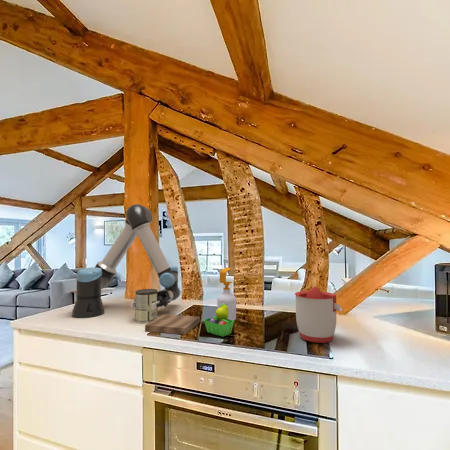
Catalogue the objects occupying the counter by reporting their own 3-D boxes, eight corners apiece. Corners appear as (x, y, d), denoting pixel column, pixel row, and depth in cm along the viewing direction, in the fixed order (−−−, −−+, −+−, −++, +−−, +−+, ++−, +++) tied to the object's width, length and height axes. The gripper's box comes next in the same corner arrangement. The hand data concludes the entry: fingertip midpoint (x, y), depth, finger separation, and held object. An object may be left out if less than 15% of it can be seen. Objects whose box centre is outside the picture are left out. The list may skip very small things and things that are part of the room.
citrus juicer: (339, 349, 98) (338, 291, 99) (290, 341, 107) (289, 287, 108) (345, 336, 112) (343, 285, 113) (301, 329, 120) (300, 282, 121)
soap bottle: (239, 319, 136) (239, 268, 138) (226, 323, 130) (226, 269, 132) (227, 315, 143) (227, 266, 144) (213, 319, 137) (213, 268, 138)
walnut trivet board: (144, 331, 118) (145, 325, 119) (164, 319, 136) (164, 314, 136) (185, 334, 114) (185, 328, 114) (199, 322, 132) (199, 316, 132)
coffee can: (140, 317, 141) (140, 288, 141) (160, 317, 140) (160, 288, 140) (131, 323, 130) (131, 292, 131) (152, 323, 129) (153, 292, 130)
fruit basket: (202, 332, 117) (202, 304, 118) (217, 327, 124) (217, 301, 124) (223, 338, 110) (222, 309, 110) (237, 333, 116) (237, 305, 117)
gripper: (182, 305, 150) (163, 316, 128) (144, 303, 155) (120, 313, 134) (183, 291, 150) (164, 299, 129) (144, 289, 156) (120, 297, 134)
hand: (141, 306), depth 131 cm, fingers closed on coffee can, 10 cm apart
